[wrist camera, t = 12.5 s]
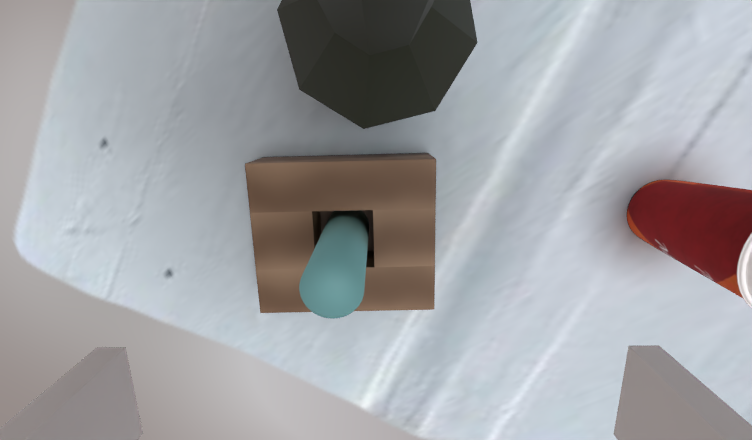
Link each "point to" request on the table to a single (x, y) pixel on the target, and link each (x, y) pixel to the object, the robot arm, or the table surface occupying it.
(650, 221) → the paper cup
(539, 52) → the table surface
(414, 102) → the wine bottle
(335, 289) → the pin
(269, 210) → the bore block
